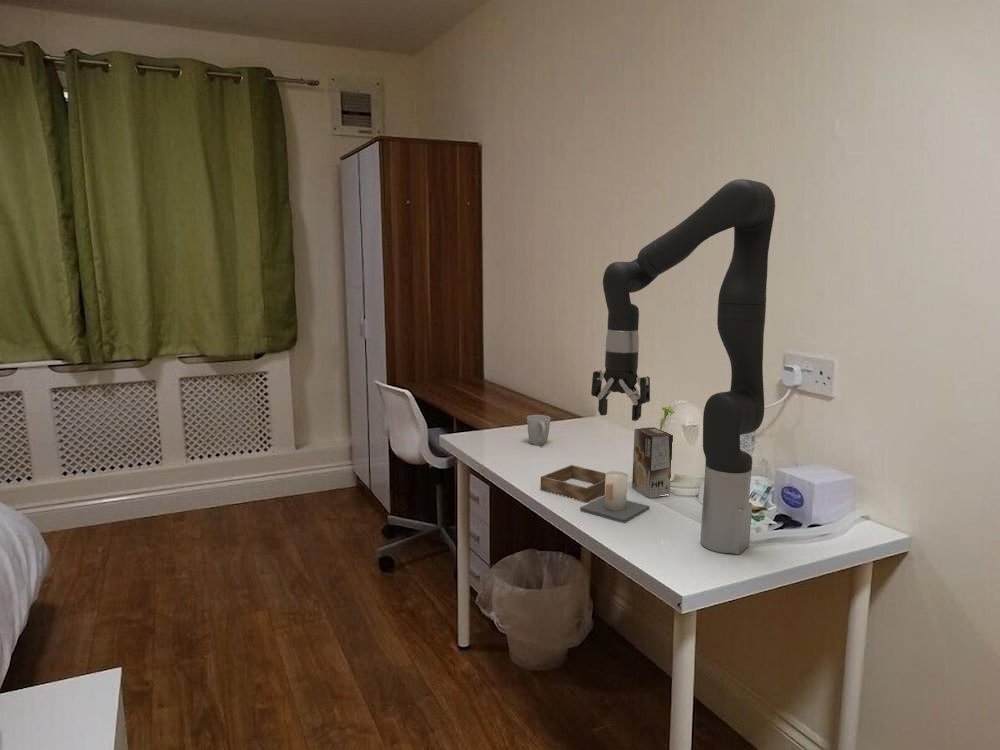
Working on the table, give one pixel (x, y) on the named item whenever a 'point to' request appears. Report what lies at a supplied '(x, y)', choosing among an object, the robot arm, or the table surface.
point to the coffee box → (652, 461)
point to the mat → (621, 515)
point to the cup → (538, 429)
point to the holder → (557, 486)
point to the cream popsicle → (615, 490)
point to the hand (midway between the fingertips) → (619, 417)
